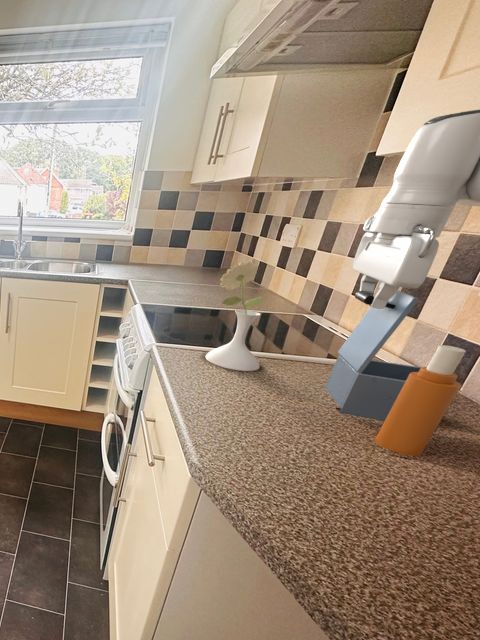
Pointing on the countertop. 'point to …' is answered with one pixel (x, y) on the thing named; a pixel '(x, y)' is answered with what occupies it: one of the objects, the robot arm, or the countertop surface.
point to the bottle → (421, 404)
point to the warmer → (367, 387)
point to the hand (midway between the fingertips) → (368, 304)
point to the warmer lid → (375, 328)
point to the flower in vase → (236, 351)
